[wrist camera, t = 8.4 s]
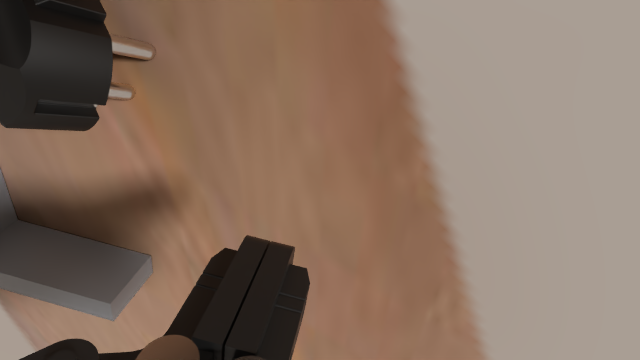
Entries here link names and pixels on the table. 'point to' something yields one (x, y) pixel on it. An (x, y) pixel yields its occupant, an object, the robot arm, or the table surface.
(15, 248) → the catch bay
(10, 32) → the power plug
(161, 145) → the table surface
